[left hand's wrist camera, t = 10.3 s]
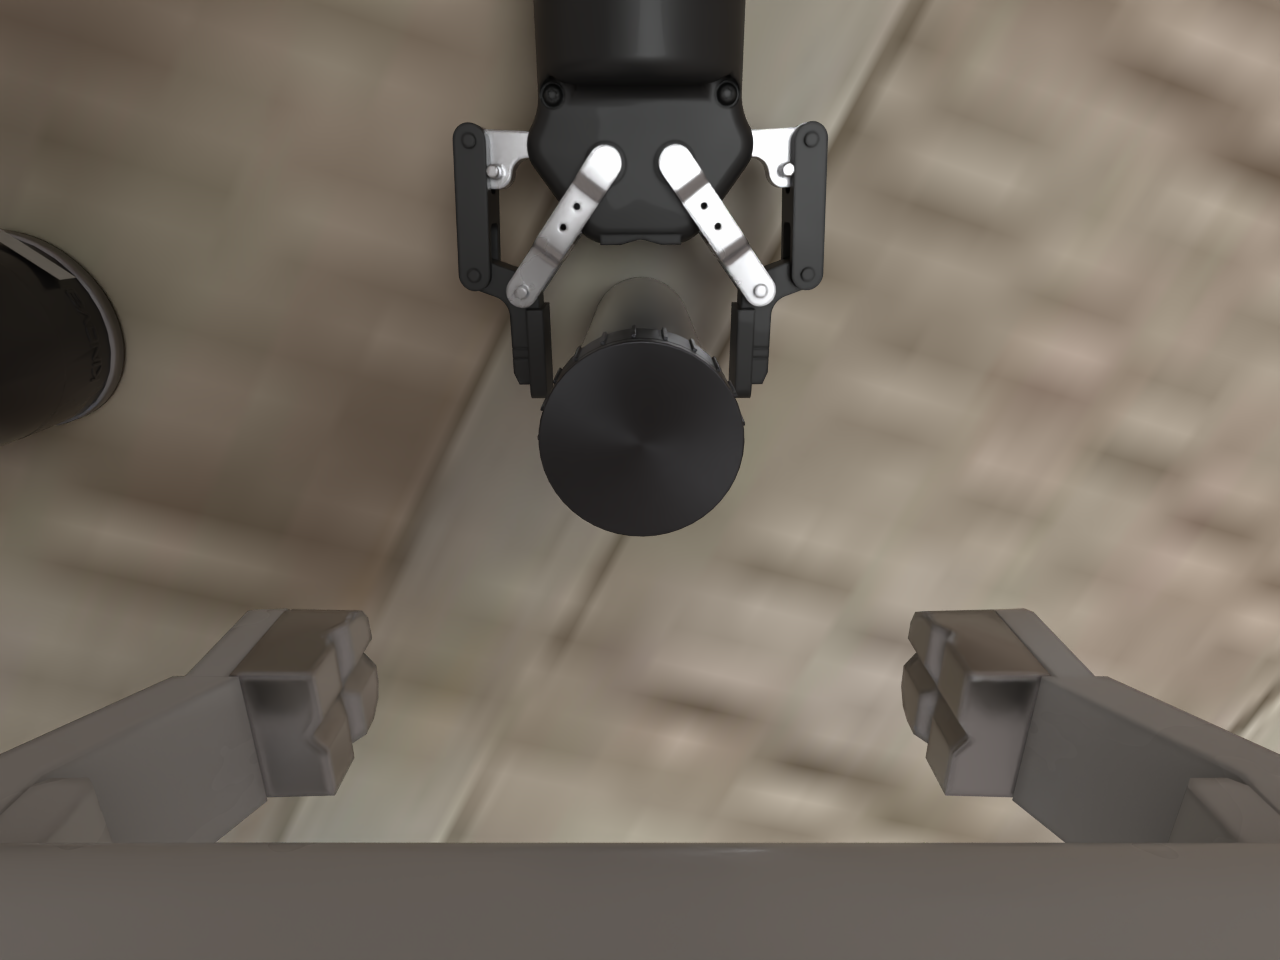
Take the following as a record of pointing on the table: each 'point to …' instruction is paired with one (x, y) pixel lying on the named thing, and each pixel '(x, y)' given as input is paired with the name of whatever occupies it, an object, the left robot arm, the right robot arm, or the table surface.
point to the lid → (641, 432)
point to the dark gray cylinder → (641, 310)
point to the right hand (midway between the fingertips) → (641, 393)
